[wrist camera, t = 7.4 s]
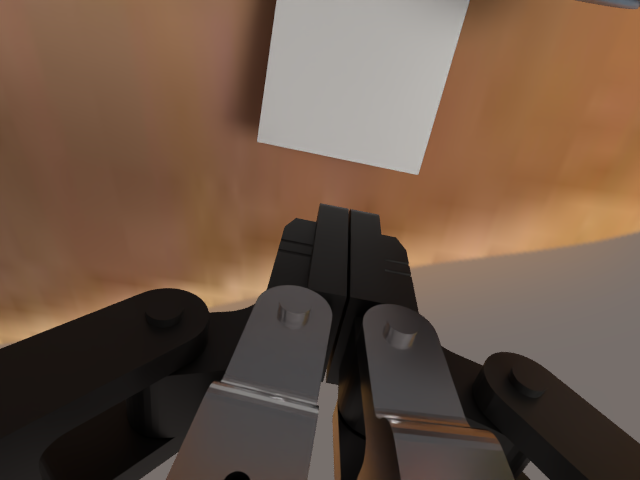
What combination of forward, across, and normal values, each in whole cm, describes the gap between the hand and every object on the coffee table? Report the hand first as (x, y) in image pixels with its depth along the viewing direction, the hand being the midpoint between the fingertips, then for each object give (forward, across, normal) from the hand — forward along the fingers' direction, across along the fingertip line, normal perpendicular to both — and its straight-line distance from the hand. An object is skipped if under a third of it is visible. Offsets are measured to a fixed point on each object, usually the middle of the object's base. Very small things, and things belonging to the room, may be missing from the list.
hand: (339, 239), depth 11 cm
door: (+10, 0, -7) cm, 12 cm away
